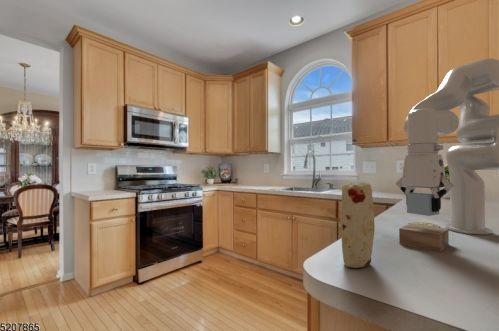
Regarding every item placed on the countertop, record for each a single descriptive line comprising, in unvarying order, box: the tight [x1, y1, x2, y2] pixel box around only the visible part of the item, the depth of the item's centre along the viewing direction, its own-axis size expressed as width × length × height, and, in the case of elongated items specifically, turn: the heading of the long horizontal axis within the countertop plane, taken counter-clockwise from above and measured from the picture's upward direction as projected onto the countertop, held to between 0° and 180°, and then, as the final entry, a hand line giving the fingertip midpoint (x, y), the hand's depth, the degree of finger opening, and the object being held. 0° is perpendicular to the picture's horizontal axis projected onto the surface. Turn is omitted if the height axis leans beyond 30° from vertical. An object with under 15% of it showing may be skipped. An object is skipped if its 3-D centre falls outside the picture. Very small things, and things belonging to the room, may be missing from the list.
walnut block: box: [398, 224, 450, 253], centre depth 75 cm, size 10×10×5 cm
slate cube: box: [406, 191, 440, 217], centre depth 75 cm, size 6×6×6 cm
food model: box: [340, 181, 376, 269], centre depth 59 cm, size 10×7×20 cm
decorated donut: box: [405, 221, 442, 228], centre depth 86 cm, size 10×11×4 cm
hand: (422, 209), depth 75 cm, fingers closed on slate cube, 6 cm apart
